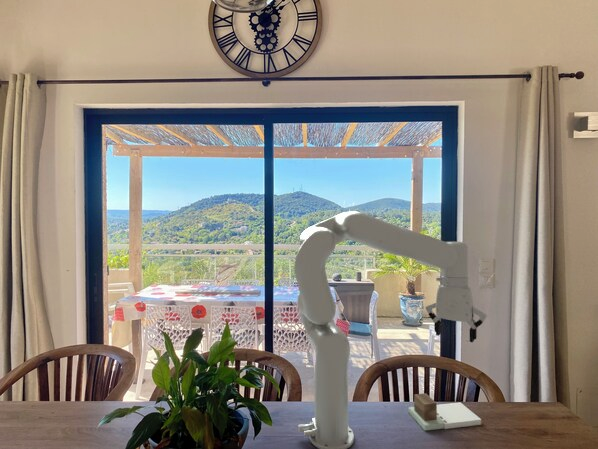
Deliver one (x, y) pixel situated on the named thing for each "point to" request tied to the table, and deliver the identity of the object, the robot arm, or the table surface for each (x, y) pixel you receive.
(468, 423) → the white flat slab
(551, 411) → the table surface
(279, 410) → the table surface
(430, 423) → the stub
